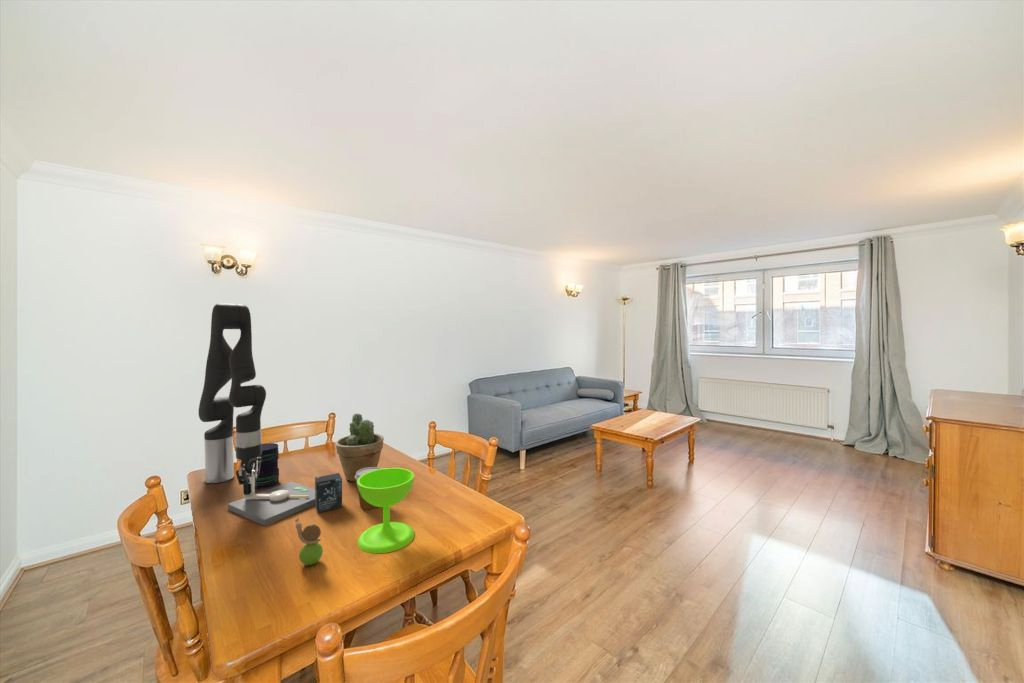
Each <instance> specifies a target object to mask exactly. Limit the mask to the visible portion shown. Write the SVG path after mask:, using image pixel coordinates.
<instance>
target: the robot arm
mask: <svg viewBox="0 0 1024 683" xmlns="http://www.w3.org/2000/svg"><path fill="white" fill-rule="evenodd" d="M211 312H212V313H211V321H210V339H209V348H208V354H207V358H206V359H207V360H206V366H205V372H204V374H205V376H204V383H203V388H202V393H201V397H200V401H199V406H198V417H199V420H200V421H201V422H203V423H210V422H219V421H220V422H219V423H218V424H216V425H215V426H213V427H211V428H209V429H208V430H206V431H205V432H204V434H203V437H204V438H203V439H204V440H203V441H204V470H205V471H204V472H205V473H204V476H205V483H207V484H218V483H223V482H227V481H230V480H231V479H233V478H234V477H235V474H236V477H237V480H238V484H239V486H242V491H243V492H242V494H243V495H244V496H245V495H249V494H251V477H252V476H253V474H254V475H255V489H256V478H257V475H259V473H260V466H261V460H262V458H261V457H259V456H261V454H262V444H263V435H262V428H261V427H262V426H261V423H262V422H261V418H262V417H261V416H262V411H263V408H264V405H265V401H266V397H267V391H266V388H265V387H264V386H263V385H261V384H252V385H250V384H249V385H243V386H242V384H244V383H249V382H250V381H252V380H255V379H256V376H257V374H256V367H255V363H254V362H255V361H254V357H253V356H254V355H253V348H252V347H253V338H252V336H253V334H252V318H251V312H250V308H249V307H248V306H247V305H245V304H237V303H216V304H214V305H213V308H212V310H211ZM224 330H239V331H240V337H239V339H238V341H237V342H236V344H235V345H234V347H233V348H232V346H230V344H228V342H227V340H226V338H225V336H224ZM230 380H231V384H230V390H229V394H228V396H220V397H216V396H217V394H218V393H219V392H220V390H221V389H222V388H223V387H225V386H226V385H227V383H229V381H230ZM244 407H251V408H250V409H249V410H247V411H244V412H242V413H239V414H238V415H236V416H235V418H236V419H235V458H236V459H237V460H239V461H240V469H238V470H236V471H235V470H234V468H235V467H234V464H235V462H234V410H235V409H236V408H244ZM234 408H235V409H234ZM234 472H235V474H234Z"/></svg>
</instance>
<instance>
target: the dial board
mask: <svg viewBox="0 0 1024 683" xmlns="http://www.w3.org/2000/svg"><path fill="white" fill-rule="evenodd" d="M278 490H288V491H289V495H309V497H296V498H287V499H285V500H282V501H275V502H273V501H270V500H269V499H245V497H243V498H240V499H238V500H235V501H232V502H229V503H227V510H228V511H229V512H232V513H234V514H237V515H239V516H241V517H244V518H246V519H248V520H250V521H251V522H255V523H257V524H259V525H261V526H263V527H265V526H268V525H271V524H273V523H275V522H277V521H279V520H282V519H285V518H287V517H289V516H292V515H294V514H296V513H298V512H301V511H304V510H306V509H308V508H311V507H313V506H315V488H313V487H309V486H306V485H303V484H300V483H297V482H294V481H289V482H287V483H283V484H281V485H276V486H273V487H270V488H267V489H265V490H263V491H261V492H258V493H256V494H271V493H272V492H275V491H278Z"/></svg>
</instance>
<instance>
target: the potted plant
mask: <svg viewBox="0 0 1024 683" xmlns="http://www.w3.org/2000/svg"><path fill="white" fill-rule="evenodd" d="M374 428H375V425H374V422H373V421H371V420H369V419H363V415H362V414H360V413H354V414H353V415H352V417H351V422H350V423H349V433H350V434H349V435H346V436H343V437H341V438H339V439H338V440H336V442H335V450H336V453H337V454H338V457H339V461H340V465H341V468H342V471H343V474H344V477H345V479H346V481H348V480H349V481H348V482H352V481H354V482H353V483H357V481H356V479H355V475H356V472H357V471H358V470H360V469H363V468H367V467H378V465H379V462H380V459H381V458H380V457H381V454H382V450H383V448H384V439H385V438H384V436H383V435H381V434H378V433H375V429H374Z"/></svg>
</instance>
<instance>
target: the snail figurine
mask: <svg viewBox="0 0 1024 683" xmlns="http://www.w3.org/2000/svg"><path fill="white" fill-rule="evenodd" d="M299 519H300V518H298V517H297V518H296V519H295V520H294V521H295V529H296V532H297V535H298V536H297V537H298V539H299V540H300V542H301V543H303V544H304V545H303V547H301V549H300V551H299V555H298V556H299V561H300V563H302V564H303V565H305V566H311V565H315V564H316V563H318V562H319V561H320V559H321V558H322V556H323V551H324V550H323V546H322V544H320V543H319V542H320V541H321V540H322V539H321V538H320V537H321V534H322V532H321V528H320V527H319V526H318V525H317V524H307V525H306V526H305V527H304V528H303V529H302V526H303V525H302V523H300V522H299Z"/></svg>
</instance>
